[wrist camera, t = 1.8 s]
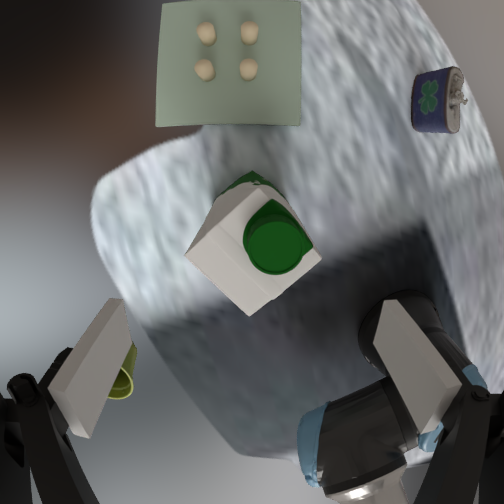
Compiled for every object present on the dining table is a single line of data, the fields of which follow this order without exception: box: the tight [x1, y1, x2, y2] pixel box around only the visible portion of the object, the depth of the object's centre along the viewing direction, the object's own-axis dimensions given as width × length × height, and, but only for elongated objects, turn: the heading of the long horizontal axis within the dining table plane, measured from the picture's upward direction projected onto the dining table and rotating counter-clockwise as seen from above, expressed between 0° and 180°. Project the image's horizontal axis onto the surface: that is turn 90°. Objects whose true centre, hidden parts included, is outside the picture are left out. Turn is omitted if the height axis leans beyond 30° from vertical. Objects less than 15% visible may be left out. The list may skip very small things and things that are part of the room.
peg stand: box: [156, 0, 301, 127], centre depth 31 cm, size 18×18×6 cm
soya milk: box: [184, 171, 322, 316], centre depth 31 cm, size 9×9×20 cm
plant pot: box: [107, 341, 137, 399], centre depth 44 cm, size 9×9×9 cm
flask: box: [411, 66, 468, 134], centre depth 30 cm, size 9×3×11 cm, turn 173°
